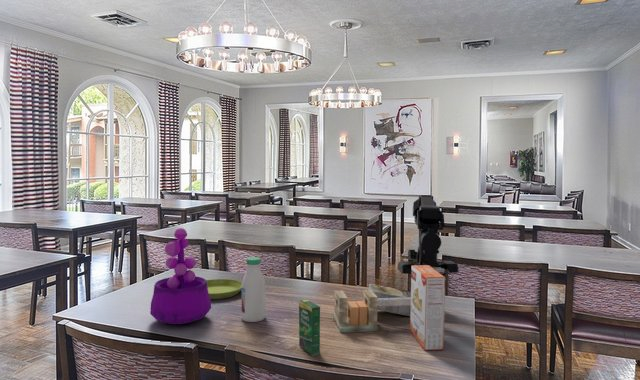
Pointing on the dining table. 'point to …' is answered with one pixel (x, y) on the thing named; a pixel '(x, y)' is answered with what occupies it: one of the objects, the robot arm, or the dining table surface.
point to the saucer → (223, 288)
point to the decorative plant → (180, 288)
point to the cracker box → (427, 307)
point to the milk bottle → (253, 292)
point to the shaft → (394, 301)
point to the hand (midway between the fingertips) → (427, 293)
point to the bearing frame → (341, 312)
